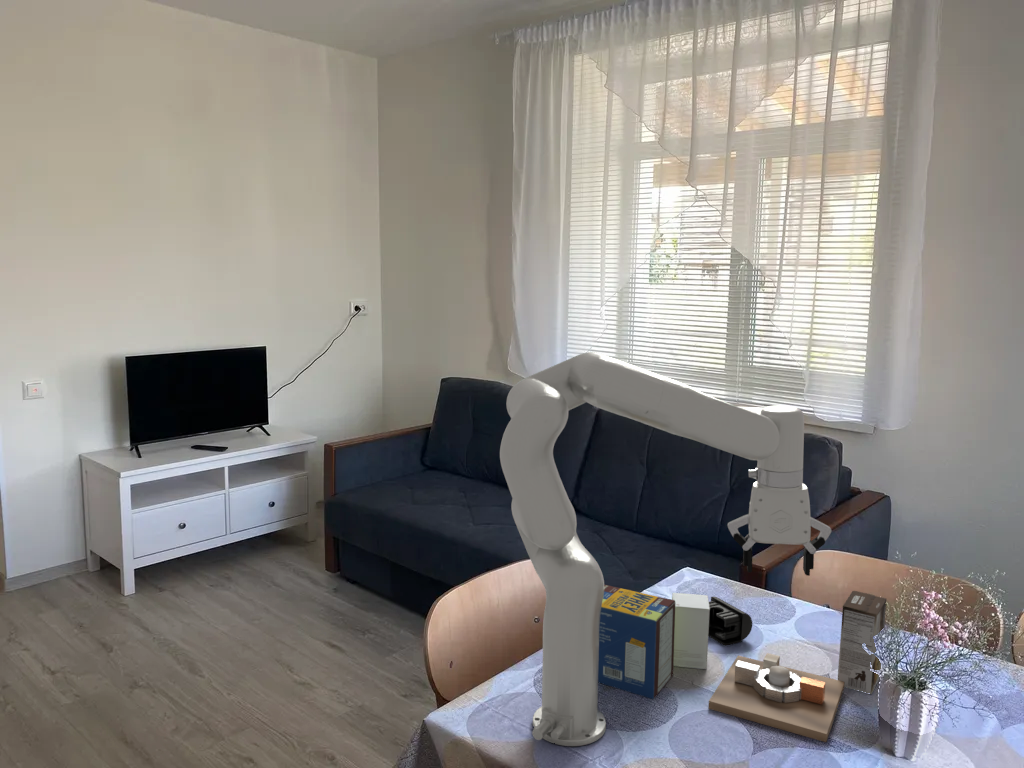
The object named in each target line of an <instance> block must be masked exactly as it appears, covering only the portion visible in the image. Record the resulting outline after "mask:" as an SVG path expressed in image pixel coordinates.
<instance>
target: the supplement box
mask: <svg viewBox="0 0 1024 768" xmlns="http://www.w3.org/2000/svg"><path fill="white" fill-rule="evenodd" d="M671 600H675V630H674V662H673V667H679V668H690V669H698V670H699V669H700V670H707V667H708V652H709V649H708V648H709V636H708V631H709V612H710V607H709V602H710V601H709V595H706V594H695V593H694V594H693V593H682V592H681V593H680V592H679V593H678V592H672V594H671Z"/></svg>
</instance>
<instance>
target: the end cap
mask: <svg viewBox="0 0 1024 768" xmlns="http://www.w3.org/2000/svg"><path fill="white" fill-rule="evenodd" d="M709 607H710V612H709V631H708V638H710V639H712V640H714V641H715V642H717V643H719V644H720V645H722V646H723V647H728V646H733V645H736V644H740V643H742V642H743V641H744V640H745V639H747V637H749V635H750V634H751V631H752V629H753V619H752V617H751V616H750V615H749V614H748V613H747V612H744V611H743V610H741V609H739V608H737V607H735V606H734V605H732V604H730V603H728V602H727V601H726V600H723V599H721V598H719V597H717V596H710V601H709Z"/></svg>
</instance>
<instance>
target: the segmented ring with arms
mask: <svg viewBox="0 0 1024 768" xmlns="http://www.w3.org/2000/svg"><path fill="white" fill-rule="evenodd" d="M734 681H735V682H738V683H742V684H746V685H750V686H753V687H754V690H756V691H757V692H758V693H759V694H760V695H761V696H762V697H765V698H766V699H770V700H773V701H777V702H781V703H782V701H783V702H784V703H788V702H795V701H799V700H801V699H803V700H806V701H810V702H814V703H818V704H821V705H822V704H823V701H824V697H825V682H822V681H818V680H814V679H810V678H806V677H802V678H800V677H798V676H797V675H796V674H795V673H793V674H792V672H790V680H789V687H784V688H781V687H777V686H774V685H770V684H769V669H762V670H760V666H758V665H754V664H750V663H746V662H742V661H738V662H737V663H736V665H735V679H734Z"/></svg>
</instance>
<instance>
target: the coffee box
mask: <svg viewBox="0 0 1024 768" xmlns="http://www.w3.org/2000/svg"><path fill="white" fill-rule="evenodd" d="M851 591H852V592H851V593H850V594H849V595H848V597H847V599H846V601H845V602H844V603H843V605H842V611H841V612H842V613H841V614H842V615H841V629H840V640H839V641H840V644H839V653H838V654H839V657H838V668H837V669H838V671H837V680H839V681H843V682H845V684H844V688H846V687H847V688H846V689H849V688H850V689H849V690H852V689H855V690H854V691H856V690H859V691H863V692H866V693H870V694H871V695H873V692H874V691H875V688H876V687H877V684H878V682H879V680H880V678H879V675H878V674H876V673H874V672H872V671H870V669H871V667H870V662H871V665H872V669H874V670H880V669H881V670H882V668H881V663H880V661H879V659H878V658H877V657H876V656H875V655H874V654H871V655H869V654H868V653H867V652H866V651H865V650H864V649H863V648H862V644H863V643H865V644H866V647H867V648H868V649H869V650H870V651H871V652H873V653H875V652H876V647H875V643H874V639H873V636H875V635H877V634H878V633H879V632H880V631H881V630H882V629H883V628H884V629H885V623H886V613H885V612H886V610H887V609H886V608H887V598H885V597H883V596H882V597H881V596H877V595H874V594H870V593H867V592H861V591H857V590H851ZM885 603H886V604H885ZM859 691H858V692H859ZM866 693H865V694H866Z"/></svg>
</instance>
